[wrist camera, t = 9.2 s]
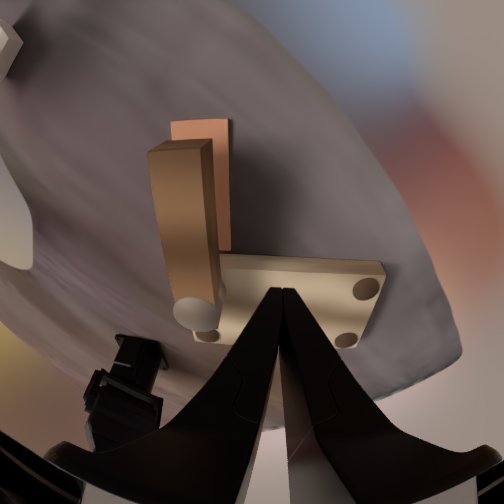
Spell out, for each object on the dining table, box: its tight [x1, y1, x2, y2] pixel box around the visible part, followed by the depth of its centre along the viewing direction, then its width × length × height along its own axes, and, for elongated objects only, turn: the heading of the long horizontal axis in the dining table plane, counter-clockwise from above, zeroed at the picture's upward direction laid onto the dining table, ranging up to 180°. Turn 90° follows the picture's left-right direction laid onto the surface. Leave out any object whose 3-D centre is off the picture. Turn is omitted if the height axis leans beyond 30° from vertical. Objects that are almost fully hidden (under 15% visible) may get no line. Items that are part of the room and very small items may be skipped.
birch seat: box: [193, 253, 386, 349], centre depth 24 cm, size 10×17×2 cm, turn 89°
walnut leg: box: [147, 138, 226, 332], centre depth 18 cm, size 14×4×3 cm, turn 0°
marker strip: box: [171, 119, 231, 251], centre depth 20 cm, size 10×4×1 cm, turn 179°
